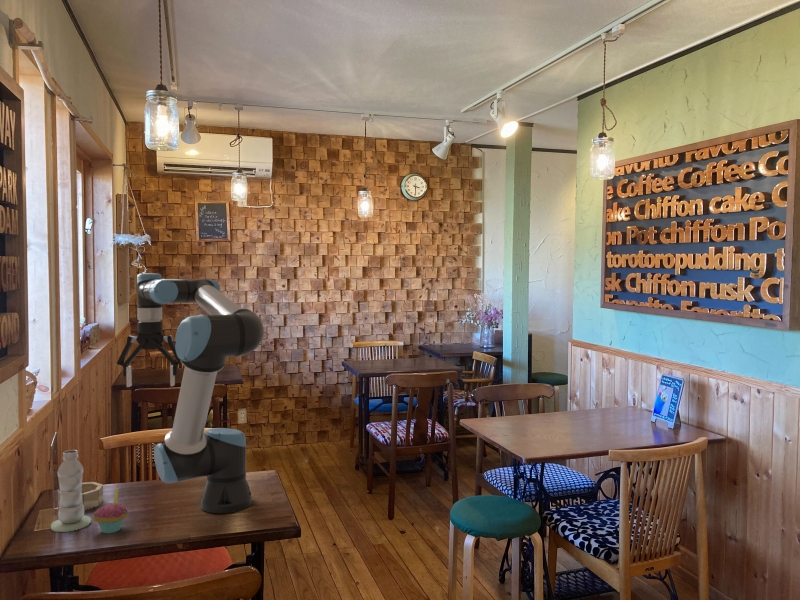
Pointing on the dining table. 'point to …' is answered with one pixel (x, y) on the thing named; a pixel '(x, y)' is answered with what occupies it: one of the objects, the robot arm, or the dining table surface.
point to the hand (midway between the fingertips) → (150, 386)
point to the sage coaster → (70, 525)
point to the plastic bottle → (70, 488)
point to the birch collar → (90, 495)
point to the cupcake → (111, 516)
